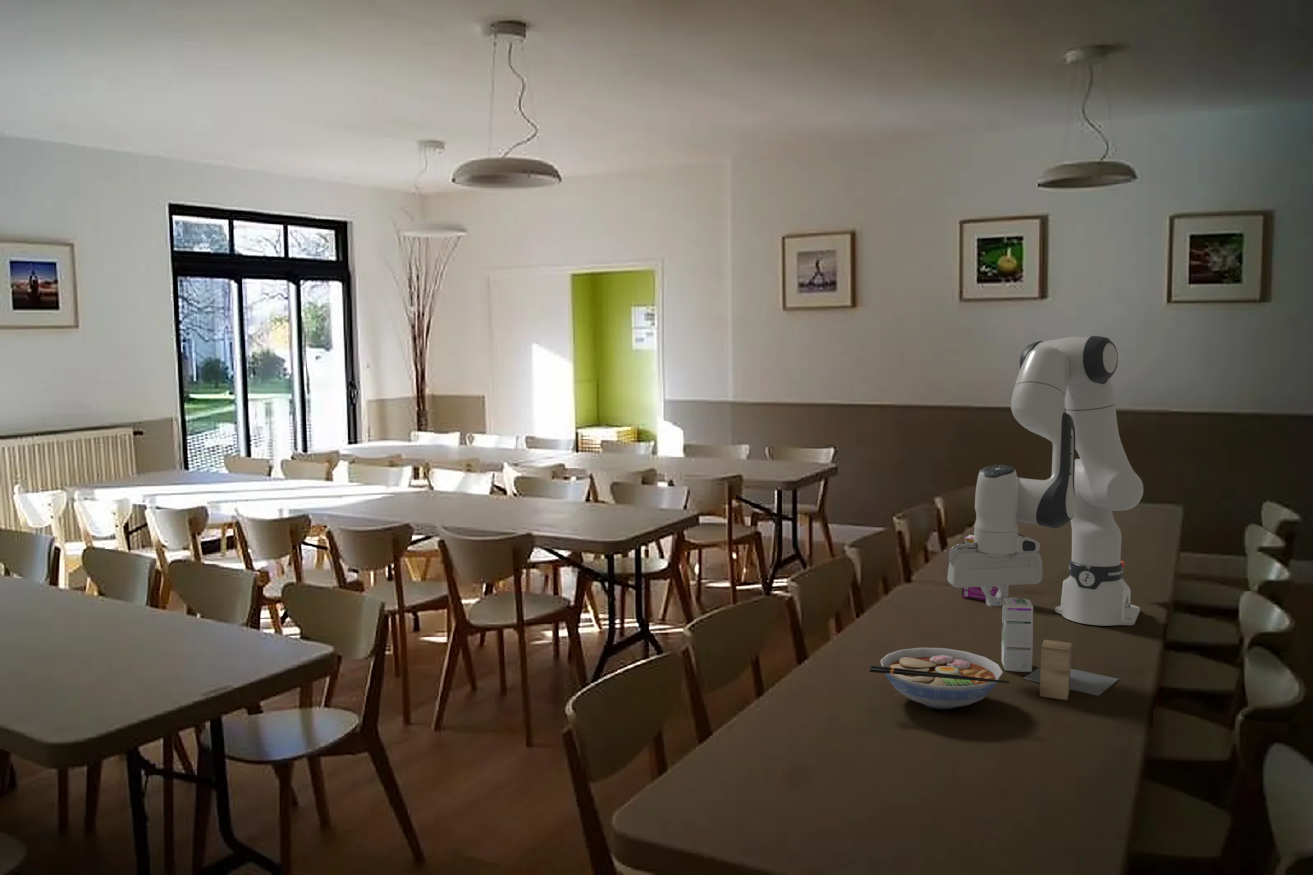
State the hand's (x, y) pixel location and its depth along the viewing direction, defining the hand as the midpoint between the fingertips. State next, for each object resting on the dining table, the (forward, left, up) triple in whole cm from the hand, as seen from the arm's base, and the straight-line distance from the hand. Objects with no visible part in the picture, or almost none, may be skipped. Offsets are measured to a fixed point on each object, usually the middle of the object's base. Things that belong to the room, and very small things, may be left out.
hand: (993, 605), depth 218 cm
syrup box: (0, +5, -13) cm, 14 cm away
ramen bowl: (+29, +2, -13) cm, 32 cm away
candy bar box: (-47, -23, -13) cm, 54 cm away
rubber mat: (0, +17, -13) cm, 21 cm away
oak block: (+10, +17, -13) cm, 24 cm away
